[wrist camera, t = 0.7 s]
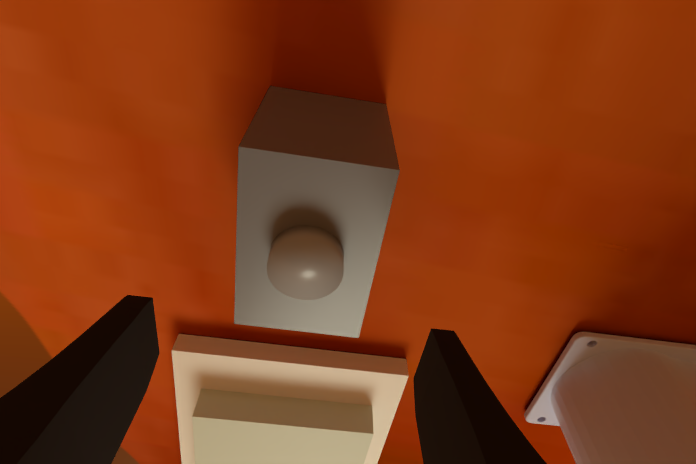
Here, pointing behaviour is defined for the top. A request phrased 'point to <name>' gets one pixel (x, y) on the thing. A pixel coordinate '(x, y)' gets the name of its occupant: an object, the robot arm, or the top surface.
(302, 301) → the housing
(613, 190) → the top surface
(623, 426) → the robot arm
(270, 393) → the stand
